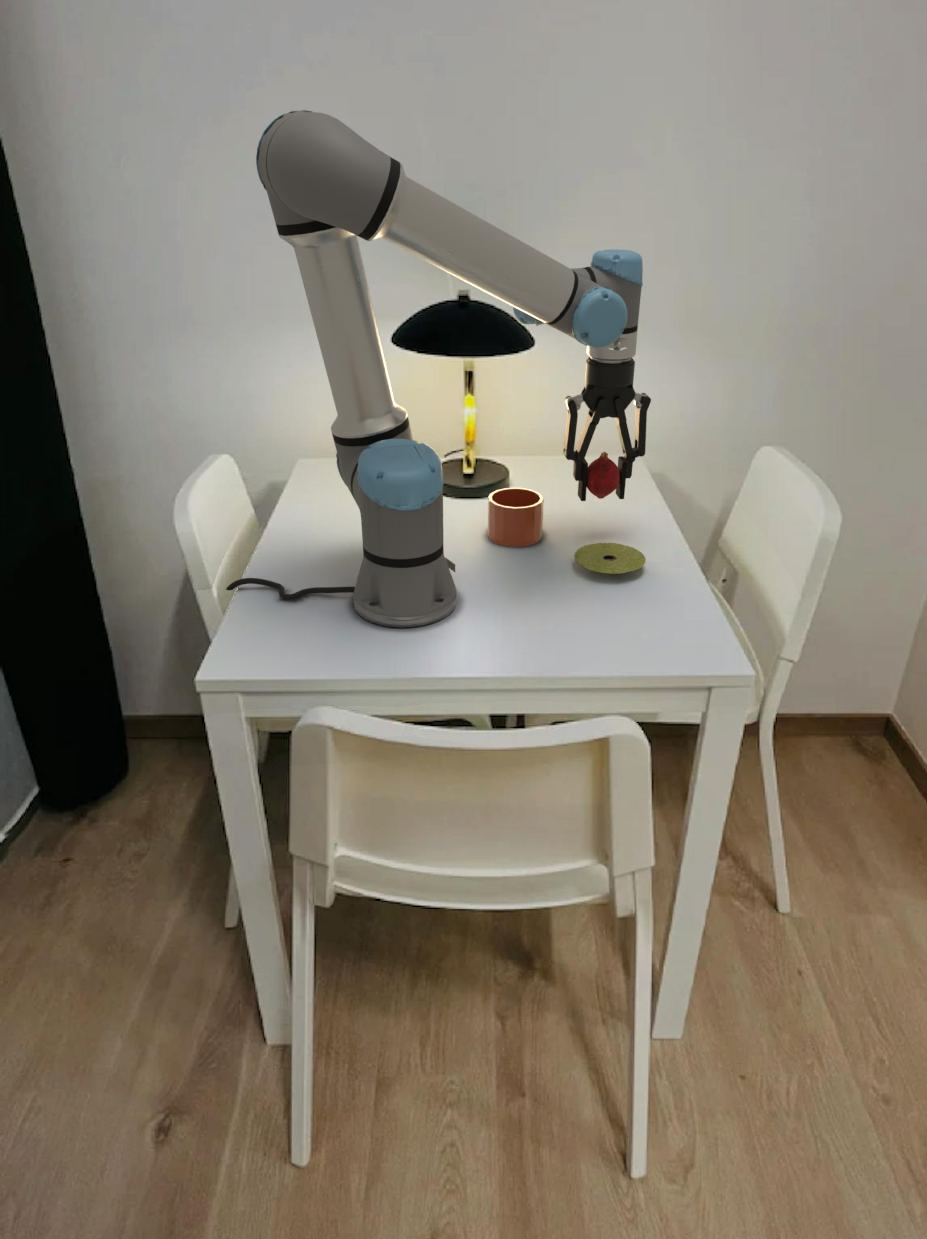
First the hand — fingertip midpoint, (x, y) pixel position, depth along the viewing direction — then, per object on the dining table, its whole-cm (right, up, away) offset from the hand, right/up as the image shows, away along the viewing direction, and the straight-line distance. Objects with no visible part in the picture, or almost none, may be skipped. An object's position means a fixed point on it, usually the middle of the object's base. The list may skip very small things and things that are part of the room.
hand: (600, 496), depth 153 cm
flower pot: (-14, -6, +4) cm, 16 cm away
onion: (0, 0, 0) cm, 0 cm away
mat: (0, -12, -7) cm, 14 cm away
